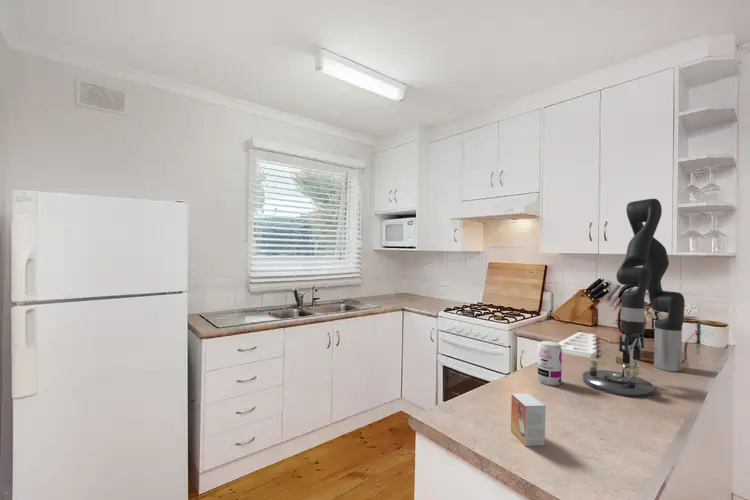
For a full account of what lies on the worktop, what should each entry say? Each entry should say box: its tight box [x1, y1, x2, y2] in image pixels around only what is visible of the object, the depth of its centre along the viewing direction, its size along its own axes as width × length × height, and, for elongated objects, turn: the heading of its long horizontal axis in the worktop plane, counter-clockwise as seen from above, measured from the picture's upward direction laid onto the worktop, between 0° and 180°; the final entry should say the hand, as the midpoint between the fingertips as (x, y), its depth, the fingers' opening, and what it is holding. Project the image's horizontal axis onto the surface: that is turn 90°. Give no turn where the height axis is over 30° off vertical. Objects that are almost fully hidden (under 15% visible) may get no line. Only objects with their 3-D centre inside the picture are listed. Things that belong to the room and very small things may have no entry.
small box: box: [510, 393, 547, 447], centre depth 97 cm, size 8×6×10 cm
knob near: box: [615, 355, 638, 375], centre depth 140 cm, size 6×2×7 cm, turn 32°
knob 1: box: [589, 356, 598, 376], centre depth 139 cm, size 6×2×7 cm, turn 152°
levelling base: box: [582, 369, 654, 398], centre depth 136 cm, size 22×22×4 cm
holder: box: [558, 331, 598, 359], centre depth 192 cm, size 45×18×3 cm, turn 135°
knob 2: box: [624, 366, 640, 388], centre depth 128 cm, size 6×2×7 cm, turn 122°
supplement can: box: [537, 340, 563, 387], centre depth 138 cm, size 8×8×15 cm
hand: (631, 361), depth 138 cm, fingers open, 8 cm apart
